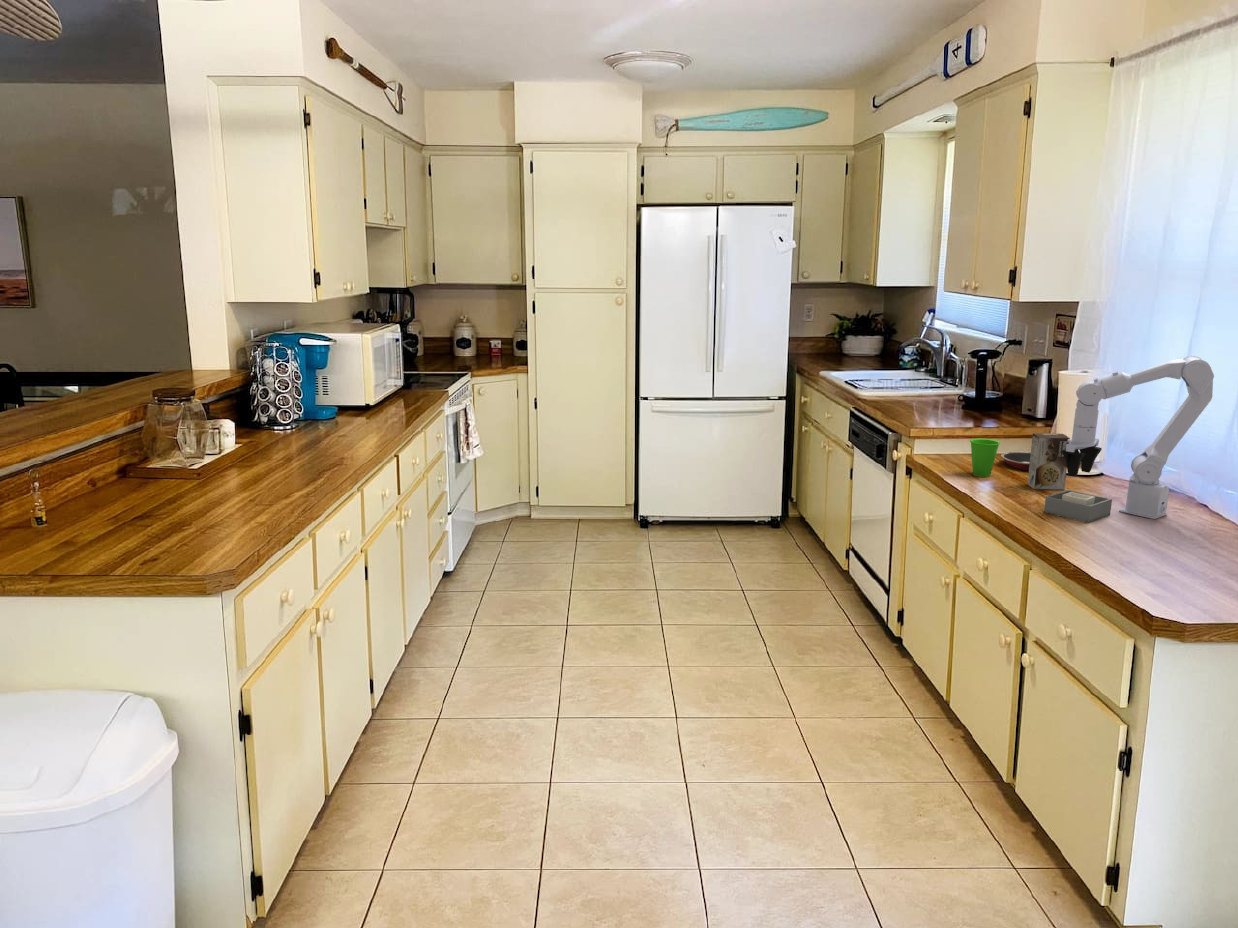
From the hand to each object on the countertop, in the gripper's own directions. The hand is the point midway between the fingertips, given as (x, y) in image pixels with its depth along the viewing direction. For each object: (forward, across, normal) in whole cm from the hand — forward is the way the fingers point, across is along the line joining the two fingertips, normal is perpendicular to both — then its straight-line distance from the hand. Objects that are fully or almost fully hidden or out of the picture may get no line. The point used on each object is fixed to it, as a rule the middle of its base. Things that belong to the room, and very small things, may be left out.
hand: (1079, 473), depth 260 cm
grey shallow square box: (+9, +7, +4) cm, 12 cm away
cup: (+10, -12, -36) cm, 39 cm away
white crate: (+9, +7, +4) cm, 12 cm away
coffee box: (+10, -14, -16) cm, 23 cm away
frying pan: (+10, -32, -28) cm, 43 cm away
